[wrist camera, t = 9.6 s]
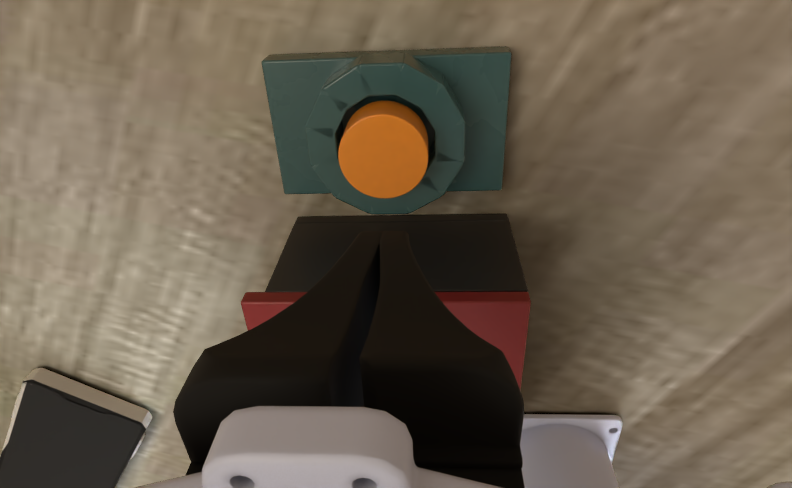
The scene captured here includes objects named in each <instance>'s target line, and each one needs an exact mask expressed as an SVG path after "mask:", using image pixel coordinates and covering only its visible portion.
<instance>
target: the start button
mask: <svg viewBox="0 0 792 488" xmlns="http://www.w3.org/2000/svg"><path fill="white" fill-rule="evenodd" d="M338 159H339V165H340V168H341V170H342V173H343V175H344V176H345V178H346V179H347V181H348V182H349V183H350V184H351V185H352V186H353V187H354V188H356V189H357V190H358V191H360V192H362V193H363V194H366V195H368V196H371V197H375V198H394V197H398V196H401V195H403V194H406V193H407V192H409V191H411V190H412V189H413V188H414V187H416V186H417V185H418V184H419V182H420V181H421V180H422V178H423V176H424V174H425V172H426V169H427V166H428V134H427V130H426V128H425V125H424V123H423V121H422V120H421V119H420V117H419V116H418V115H417V114H416V113H415V112H414V111H413V110H412V109H410V108H409V107H407V106H405V105H403V104H401V103H398V102H394V101H385V100H383V101H376V102H372V103H369V104H367V105H365V106H363V107H361V108H360V109H359V110H357V111H356V112H355V113H354V114H353V116H352V117H351V118H350V120H349V122H348V123H347V126H346V128H345V131H344V134H343V136H342V139H341V141H340V145H339V150H338Z"/></svg>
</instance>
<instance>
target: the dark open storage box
mask: <svg viewBox="0 0 792 488" xmlns="http://www.w3.org/2000/svg"><path fill="white" fill-rule="evenodd" d="M361 231H406V232H407V233H408V234H409V242H410V246H411V249H412V252H413V254H414V257H415V259H416V261H417V263H418V265H419V267H420V269H421V271H422V273H423V275H424V277H425V278H426V280H427V281H428V283H429V285H430V286H431V288H432V289H433V291H434V292H528V289H527V285H526V281H525V278H524V274H523V270H522V267H521V263H520V259H519V256H518V252H517V249H516V245H515V241H514V238H513V234H512V230H511V227H510V223H509V220H508V217H507V214H468V215H400V216H331V217H298V218H297V220H296V222H295V224H294V226H293V228H292V231H291V233H290V235H289V238H288V240H287V242H286V245H285V247H284V249H283V251H282V254H281V256H280V258H279V261H278V263H277V265H276V268H275V270H274V272H273V275H272V277H271V279H270V282H269V284H268V286H267V288H266V291H265V292H308V291H309V290H310V289H311V288H312V287H313V286H314V285H315V284H316V283H317V282H318V281H319V280H320V279H321V278H322V277H323V276H324V275H325V274H326V273H327V272H328V271H329V270H330V269H331V268H332V267H333V266H334V264H335V263H336V262H337V261H338V260H339V259H340V257H341V256H342V255H343V254H344V252H345V251H346V250H347V249H348V247H349V246H350V245H351V243H352V242H353V241H354V239H355V238H356V237H357V235H358V234H359V233H360V232H361Z"/></svg>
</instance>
